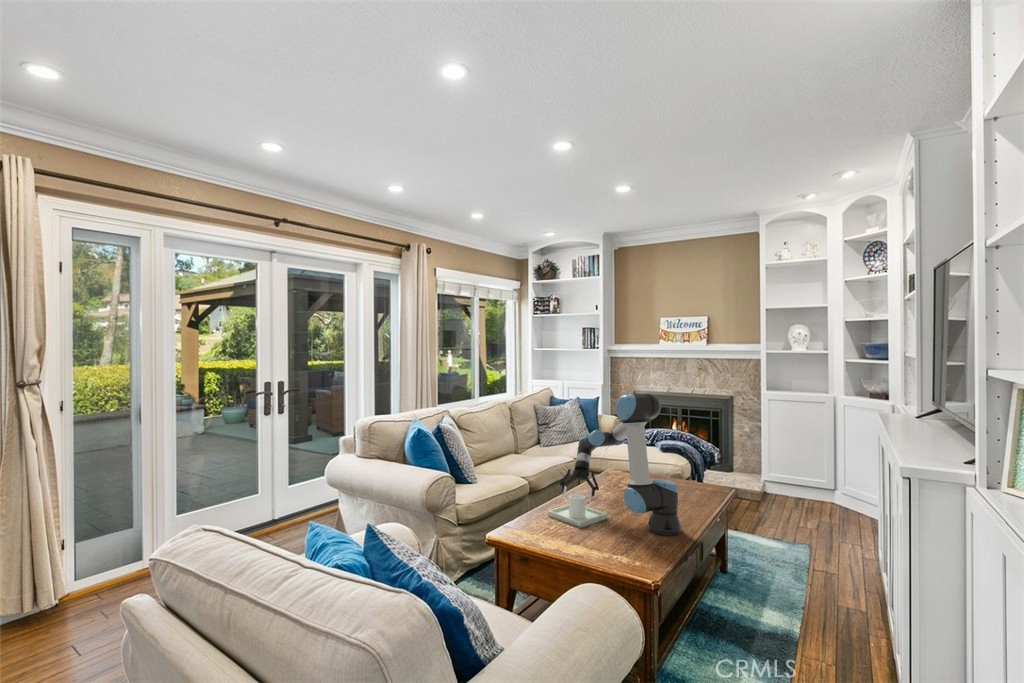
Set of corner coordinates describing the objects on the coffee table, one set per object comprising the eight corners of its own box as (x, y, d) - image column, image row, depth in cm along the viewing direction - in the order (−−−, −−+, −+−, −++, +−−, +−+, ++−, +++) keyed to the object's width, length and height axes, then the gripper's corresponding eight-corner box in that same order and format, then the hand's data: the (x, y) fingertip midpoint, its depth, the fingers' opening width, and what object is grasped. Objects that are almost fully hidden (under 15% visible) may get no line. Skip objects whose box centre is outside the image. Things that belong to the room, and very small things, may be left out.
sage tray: (607, 518, 255) (607, 513, 255) (580, 528, 242) (580, 522, 242) (574, 507, 272) (574, 502, 272) (547, 515, 259) (547, 510, 259)
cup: (568, 518, 252) (568, 498, 252) (569, 510, 264) (569, 491, 263) (585, 519, 250) (585, 499, 250) (585, 511, 262) (585, 491, 262)
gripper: (606, 469, 269) (602, 506, 255) (560, 465, 277) (554, 501, 263) (605, 461, 264) (600, 499, 250) (558, 457, 272) (551, 493, 258)
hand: (576, 500), depth 257 cm, fingers open, 13 cm apart
